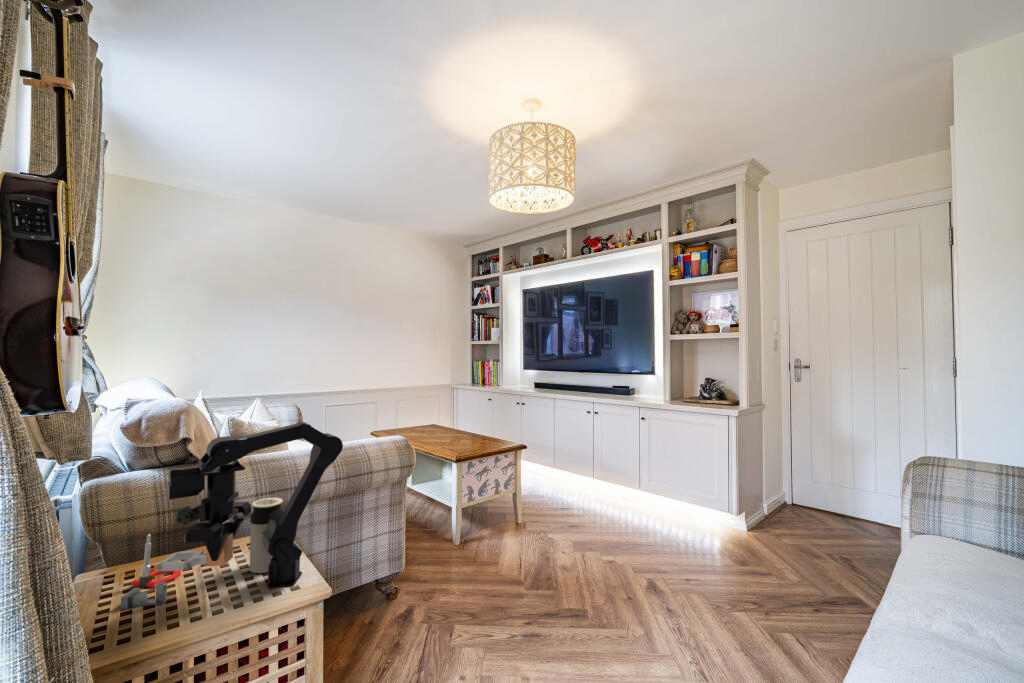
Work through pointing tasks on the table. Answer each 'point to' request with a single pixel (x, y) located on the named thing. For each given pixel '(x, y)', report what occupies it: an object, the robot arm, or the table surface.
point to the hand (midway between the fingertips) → (219, 556)
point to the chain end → (198, 557)
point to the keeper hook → (144, 597)
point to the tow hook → (147, 575)
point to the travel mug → (259, 522)
